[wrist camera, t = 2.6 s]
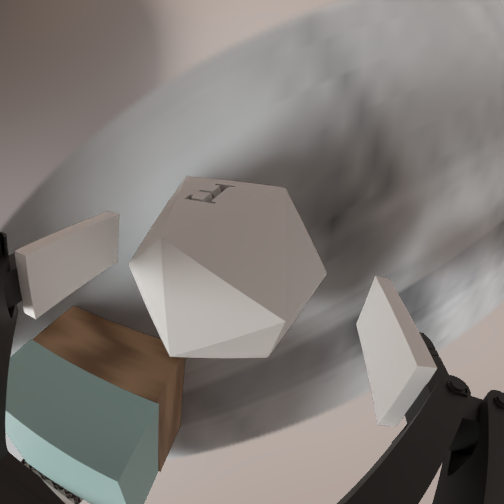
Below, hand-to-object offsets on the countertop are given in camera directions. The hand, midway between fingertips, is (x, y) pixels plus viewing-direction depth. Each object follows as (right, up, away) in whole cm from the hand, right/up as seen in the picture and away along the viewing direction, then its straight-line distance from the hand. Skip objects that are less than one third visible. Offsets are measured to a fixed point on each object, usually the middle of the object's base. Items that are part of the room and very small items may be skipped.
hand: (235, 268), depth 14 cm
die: (0, +1, +4) cm, 4 cm away
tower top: (-11, -12, +3) cm, 16 cm away
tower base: (-10, -10, +9) cm, 17 cm away
